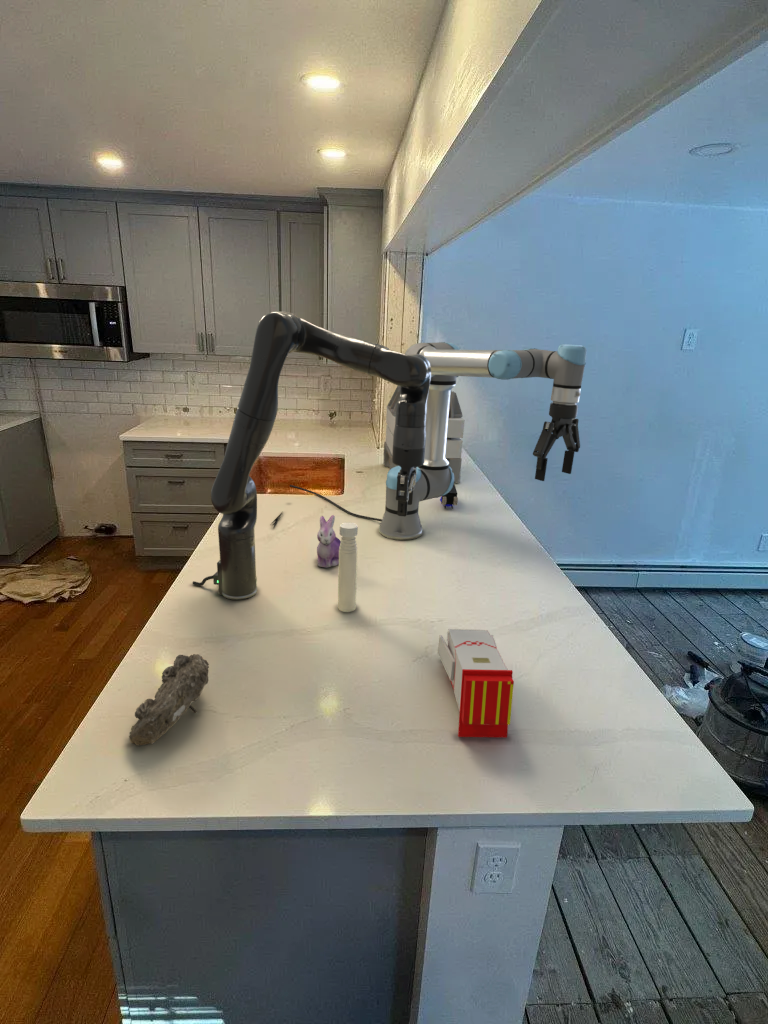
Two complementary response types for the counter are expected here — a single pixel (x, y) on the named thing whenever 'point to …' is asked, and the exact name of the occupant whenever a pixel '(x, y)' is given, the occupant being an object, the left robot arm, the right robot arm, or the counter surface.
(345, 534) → the cap
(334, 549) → the figurine
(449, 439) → the grey slatted box
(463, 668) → the toy
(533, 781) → the counter surface
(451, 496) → the figurine character
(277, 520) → the feather
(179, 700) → the fossil
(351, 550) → the bottle
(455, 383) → the right robot arm
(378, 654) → the counter surface
